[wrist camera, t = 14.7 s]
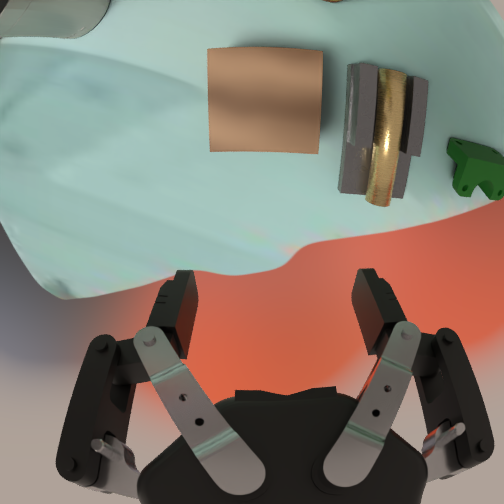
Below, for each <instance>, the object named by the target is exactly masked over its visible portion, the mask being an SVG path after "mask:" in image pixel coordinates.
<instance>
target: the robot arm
mask: <svg viewBox="0 0 504 504" xmlns="http://www.w3.org/2000/svg"><path fill="white" fill-rule="evenodd" d="M109 2H110V0H0V38H2V37H53V38H63V39H75V38H78V37H81V36H83V35H85V34H86V33H88V32H89V31H91V30H92V29H93V28H94V27H95V26H96V25H97V24H98V23H99V22H100V20H101V19H102V17H103V16H104V14H105V12H106V10H107V8H108V5H109ZM352 304H353V307H354V310H355V313H356V316H357V320H358V323H359V326H360V329H361V332H362V335H363V339H364V341H365V345H366V348H367V352H368V355H375V354H376V355H377V358H378V359H377V361H376V363H375V364H374V367H373V369H372V371H371V372H370V375H369V376H368V378H367V380H366V382H365V384H364V386H363V388H362V390H361V391H360V393H359V395H358V396H357V398H356V399H355V398H352V397H350V396H348V395H345V394H341V393H337V391H336V386H333V387H322V388H311V389H308V390H305V391H301V392H298V393H295V394H291V395H281V394H275V393H270V392H265V391H261V390H235V397H230V398H227V399H224V400H222V401H220V402H218V403H216V404H214V405H213V403H212V402H211V401H210V399H209V398H208V397H207V395H206V394H205V392H204V391H203V390H202V388H201V387H200V385H199V384H198V382H197V381H196V379H195V378H194V377H193V375H192V374H191V372H190V371H189V369H188V368H187V367H186V365H185V364H183V363H182V362H181V360H180V359H187V355H188V349H189V345H190V340H191V335H192V331H193V326H194V321H195V316H196V312H197V307H198V292H197V287H196V282H195V276H194V272H193V270H177V272H176V274H175V277H174V280H167V281H166V282H165V283H164V284H163V285H162V287H161V288H160V290H159V293H158V297H157V298H156V301H155V304H154V306H153V309H152V311H151V314H150V317H149V320H148V323H147V325H146V327H145V328H143V329H141V330H139V331H138V332H137V333H136V335H135V337H134V338H132V339H127V340H121V341H116V340H115V339H114V338H113V337H112V336H111V335H107V334H104V335H99V336H97V337H96V338H94V339H93V340H92V342H91V343H90V345H89V347H88V350H87V353H86V356H85V358H84V361H83V364H82V366H81V370H80V372H79V375H78V378H77V381H76V384H75V387H74V390H73V394H72V397H71V400H70V404H69V407H68V411H67V414H66V418H65V422H64V425H63V429H62V434H61V438H60V442H59V447H58V451H57V456H56V468H57V470H58V472H59V474H60V475H61V476H62V477H63V478H64V479H66V480H68V481H70V482H73V483H76V484H77V485H79V486H82V487H85V488H88V489H91V490H94V491H100V492H103V493H107V494H109V493H110V494H111V493H116V494H120V495H123V496H127V497H132V498H136V499H139V500H140V502H141V504H420V503H421V498H422V494H423V491H424V488H425V485H426V483H427V482H430V481H433V480H435V479H438V478H439V479H447V478H449V477H452V476H454V475H457V474H459V473H461V472H463V471H465V470H468V469H470V468H472V467H474V466H476V465H478V464H480V463H482V462H484V461H486V460H487V459H488V458H489V457H490V456H491V455H492V453H493V450H494V438H493V434H492V430H491V426H490V422H489V418H488V415H487V412H486V408H485V405H484V402H483V398H482V395H481V392H480V390H479V386H478V384H477V381H476V378H475V375H474V373H473V370H472V368H471V365H470V362H469V360H468V357H467V355H466V353H465V350H464V348H463V346H462V343H461V341H460V339H459V337H458V335H457V334H456V333H455V332H454V331H453V330H451V329H449V328H441V329H439V330H438V331H437V333H436V335H432V334H427V333H421V332H420V330H419V328H418V327H417V326H416V325H415V324H413V323H411V322H408V321H407V319H406V317H405V315H404V313H403V310H402V308H401V306H400V304H399V302H398V300H397V298H396V296H395V294H394V292H393V290H392V288H391V286H390V284H389V283H388V282H386V281H385V280H384V279H383V278H379V277H378V275H377V273H376V271H375V270H374V269H373V268H370V269H369V268H367V269H359V270H358V272H357V275H356V279H355V283H354V286H353V290H352ZM412 375H413V376H414V378H415V382H416V386H417V389H418V393H419V397H420V401H421V406H422V410H423V414H424V419H425V423H426V428H427V433H428V435H427V436H426V437H425V439H424V441H423V447H422V454H421V453H420V452H419V451H417V450H416V449H415V448H414V447H412V446H411V445H410V444H409V443H408V442H406V441H405V440H404V439H403V438H402V437H400V436H399V435H398V434H397V433H395V432H394V431H393V430H392V429H391V426H392V423H393V421H394V419H395V417H396V414H397V412H398V410H399V408H400V405H401V403H402V400H403V398H404V395H405V393H406V390H407V388H408V385H409V382H410V380H411V377H412ZM148 381H151V382H152V384H153V386H154V388H155V390H156V392H157V393H158V395H159V397H160V399H161V401H162V402H163V404H164V406H165V408H166V409H167V411H168V413H169V415H170V416H171V418H172V420H173V421H174V423H175V424H176V426H177V428H178V429H179V431H180V432H181V434H182V435H181V436H180V437H179V438H177V439H176V440H175V441H174V442H173V443H172V444H171V445H170V446H169V447H168V448H166V449H165V450H164V451H163V452H162V453H161V454H160V455H158V457H156V458H155V459H154V460H153V461H151V462H150V463H149V464H148V465H147V466H146V467H145V468H144V469H143V470H142V471H141V473H140V472H139V471H138V470H137V468H136V465H135V457H134V454H133V452H132V450H131V449H130V448H129V447H128V446H126V445H125V444H126V437H127V431H128V425H129V419H130V414H131V409H132V403H133V398H134V393H135V389H136V384H137V383H142V382H148Z"/></svg>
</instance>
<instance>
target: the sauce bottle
mask: <svg viewBox="0 0 504 504" xmlns="http://www.w3.org/2000/svg"><path fill="white" fill-rule="evenodd" d="M323 1H328V2H339V1H342V0H323Z"/></svg>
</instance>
